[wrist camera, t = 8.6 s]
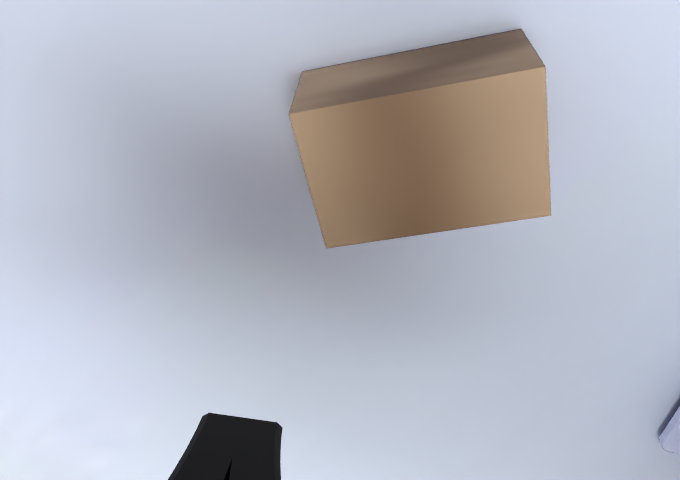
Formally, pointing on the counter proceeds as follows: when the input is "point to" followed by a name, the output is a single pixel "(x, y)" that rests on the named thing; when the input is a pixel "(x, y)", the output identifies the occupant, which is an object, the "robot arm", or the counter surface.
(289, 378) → the counter surface
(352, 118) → the tan cardboard box
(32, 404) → the counter surface
